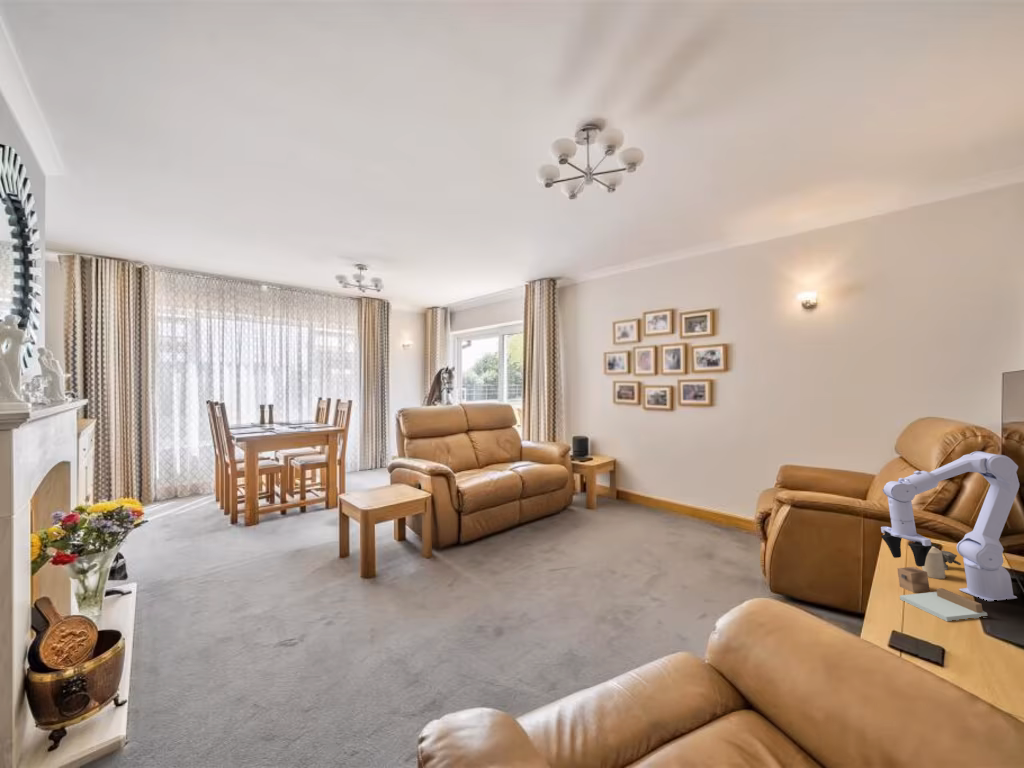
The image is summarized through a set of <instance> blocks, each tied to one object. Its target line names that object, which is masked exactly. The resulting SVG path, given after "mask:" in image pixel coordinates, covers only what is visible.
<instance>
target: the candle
mask: <svg viewBox="0 0 1024 768" xmlns="http://www.w3.org/2000/svg"><path fill="white" fill-rule="evenodd" d="M942 551H943V550H940V549H939V548H937V547H935V546H934V545H933V546H932V548H931V549H930V550H929V552H928V554H927V557H926V561H925V566H922V567H921V568H922V569H921V570H923V571H926V572H927V575H928V578H930V579H932V578H933V579H939V580H940V579H941V580H942V579H945V578H946V570H944V563H943V556H942Z"/></svg>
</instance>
